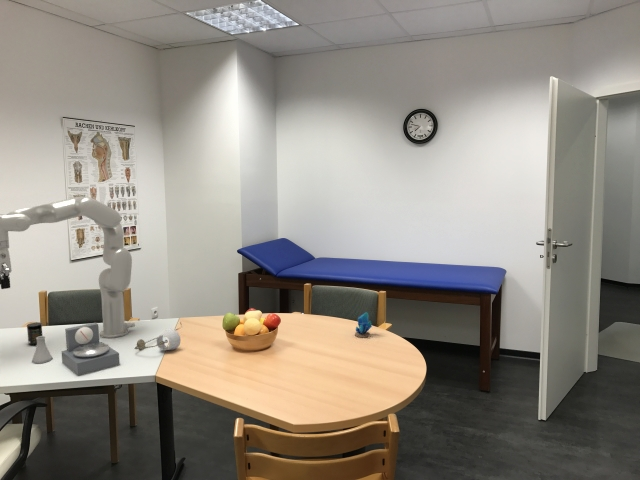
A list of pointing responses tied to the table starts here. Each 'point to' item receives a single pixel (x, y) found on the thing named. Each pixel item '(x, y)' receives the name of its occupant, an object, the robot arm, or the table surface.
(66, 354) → the scale
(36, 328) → the supplement container
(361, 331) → the gemstone
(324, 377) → the table surface
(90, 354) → the pan
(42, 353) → the flask
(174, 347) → the light fixture
